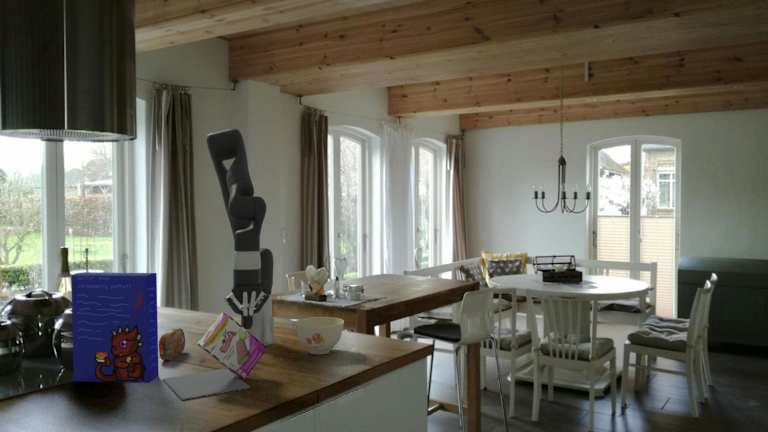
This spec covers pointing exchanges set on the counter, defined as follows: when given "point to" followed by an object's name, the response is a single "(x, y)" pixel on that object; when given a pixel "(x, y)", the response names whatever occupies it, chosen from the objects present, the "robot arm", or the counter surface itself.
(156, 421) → the counter surface
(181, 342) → the tin
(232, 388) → the mat
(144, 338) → the cereal box
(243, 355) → the candy bar box
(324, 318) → the bowl
